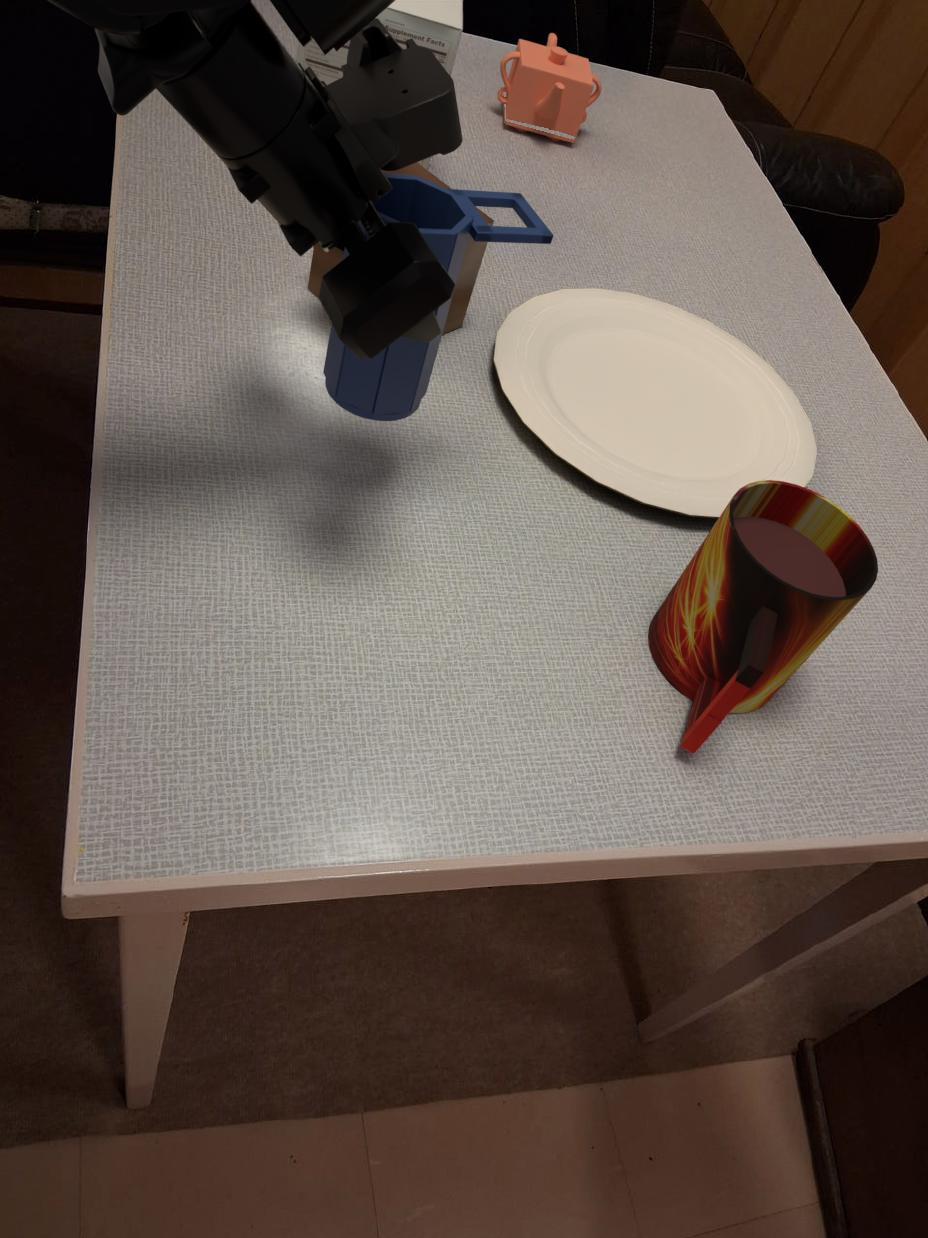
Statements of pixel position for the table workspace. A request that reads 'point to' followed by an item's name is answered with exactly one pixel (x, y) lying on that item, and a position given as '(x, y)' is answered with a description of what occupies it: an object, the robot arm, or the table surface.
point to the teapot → (547, 88)
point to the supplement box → (399, 37)
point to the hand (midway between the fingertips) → (414, 301)
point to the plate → (650, 399)
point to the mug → (758, 600)
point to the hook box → (467, 273)
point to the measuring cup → (407, 364)
